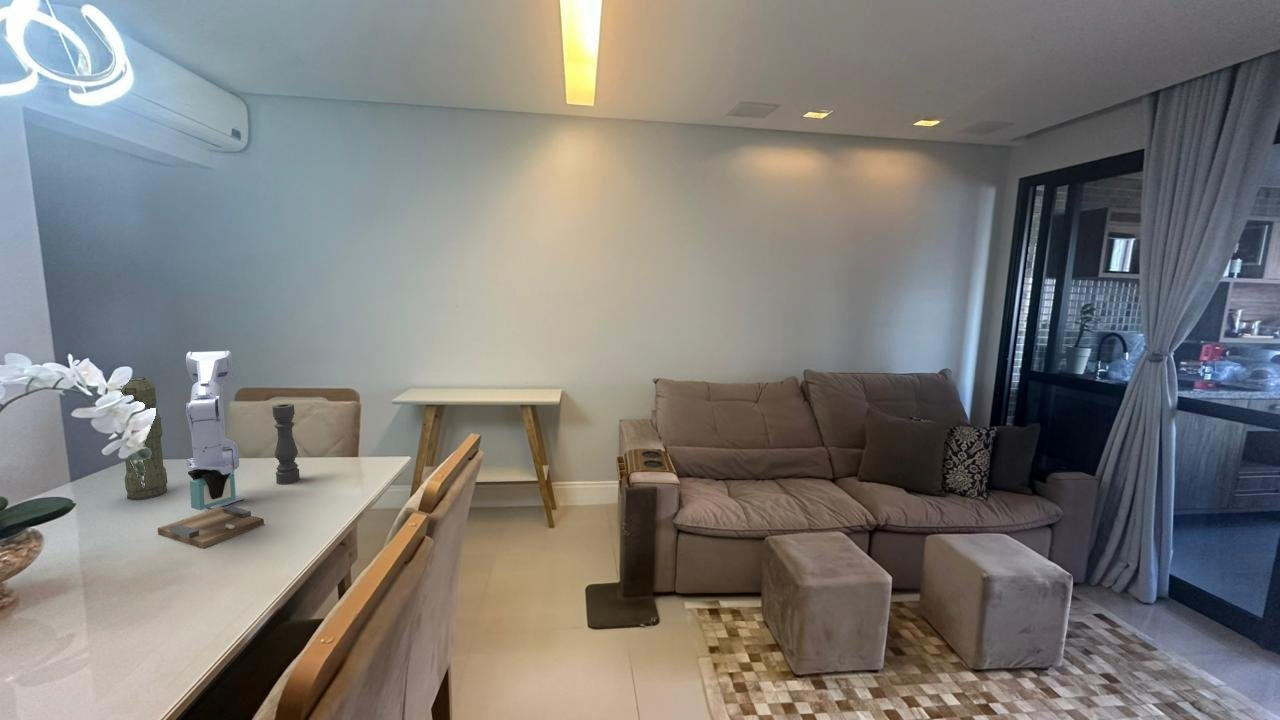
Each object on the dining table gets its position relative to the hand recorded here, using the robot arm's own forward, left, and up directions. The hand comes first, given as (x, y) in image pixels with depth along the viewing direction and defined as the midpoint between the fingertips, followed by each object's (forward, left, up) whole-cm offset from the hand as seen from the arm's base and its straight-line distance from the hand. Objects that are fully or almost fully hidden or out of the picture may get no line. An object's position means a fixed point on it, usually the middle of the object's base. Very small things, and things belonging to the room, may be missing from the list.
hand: (211, 496), depth 130 cm
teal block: (0, 0, -2) cm, 2 cm away
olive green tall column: (-41, +6, -9) cm, 42 cm away
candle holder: (-15, +30, -9) cm, 34 cm away
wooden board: (0, 0, -9) cm, 9 cm away
